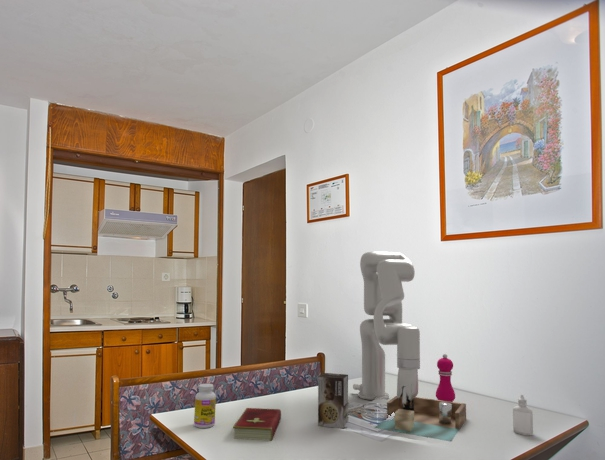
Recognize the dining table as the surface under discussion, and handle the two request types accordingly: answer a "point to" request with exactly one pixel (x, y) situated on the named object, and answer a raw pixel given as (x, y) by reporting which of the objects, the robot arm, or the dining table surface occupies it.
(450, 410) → the steel peg
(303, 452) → the dining table surface
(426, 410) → the cubby
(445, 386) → the pepper mill
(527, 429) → the eye dropper bottle
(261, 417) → the hardcover book
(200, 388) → the supplement bottle
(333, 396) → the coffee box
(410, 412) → the birch block
